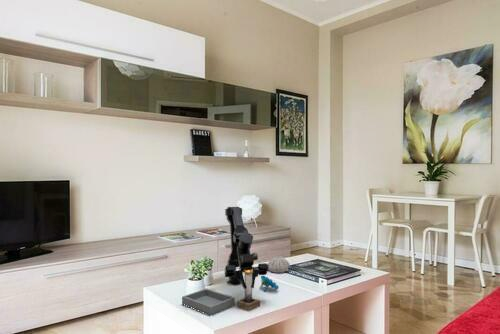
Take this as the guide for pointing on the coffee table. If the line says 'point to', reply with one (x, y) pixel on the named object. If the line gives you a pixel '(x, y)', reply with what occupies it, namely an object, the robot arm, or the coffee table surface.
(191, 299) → the tray
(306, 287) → the coffee table surface
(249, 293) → the grey tall cylinder
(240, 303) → the socket block
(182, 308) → the coffee table surface
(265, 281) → the blue irregular piece
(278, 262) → the sea urchin shell
